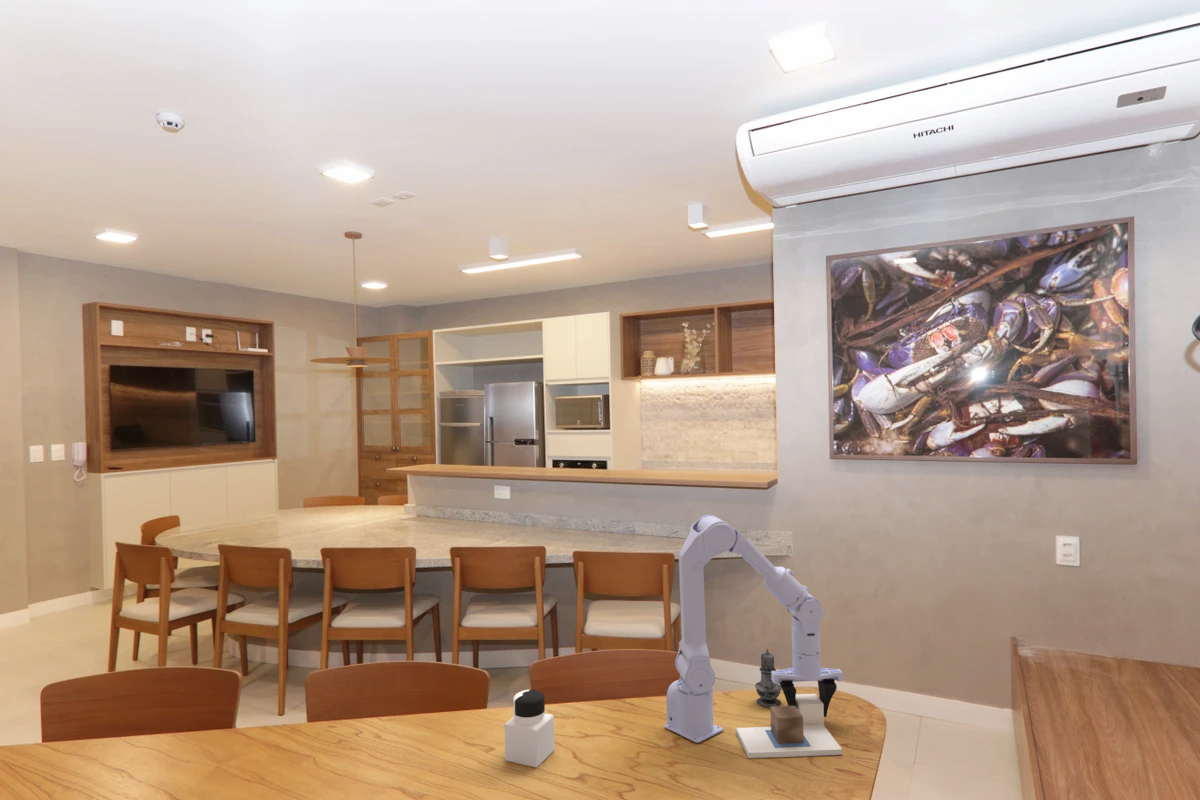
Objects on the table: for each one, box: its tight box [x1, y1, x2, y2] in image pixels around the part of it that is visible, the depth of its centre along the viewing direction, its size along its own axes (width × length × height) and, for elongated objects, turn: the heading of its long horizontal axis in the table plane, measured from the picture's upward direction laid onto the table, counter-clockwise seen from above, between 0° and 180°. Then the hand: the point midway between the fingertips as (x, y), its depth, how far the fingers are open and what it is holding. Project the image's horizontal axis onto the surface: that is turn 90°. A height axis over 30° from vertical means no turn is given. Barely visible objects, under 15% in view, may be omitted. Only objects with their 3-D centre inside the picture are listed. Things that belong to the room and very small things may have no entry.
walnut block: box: [769, 705, 804, 744], centre depth 134 cm, size 5×5×5 cm
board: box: [735, 724, 843, 759], centre depth 133 cm, size 18×10×1 cm, turn 92°
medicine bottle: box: [504, 689, 555, 769], centre depth 131 cm, size 7×7×12 cm
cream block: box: [795, 693, 825, 726], centre depth 142 cm, size 5×5×5 cm
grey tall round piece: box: [754, 648, 782, 709], centre depth 152 cm, size 6×6×12 cm
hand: (807, 715), depth 142 cm, fingers open, 6 cm apart
